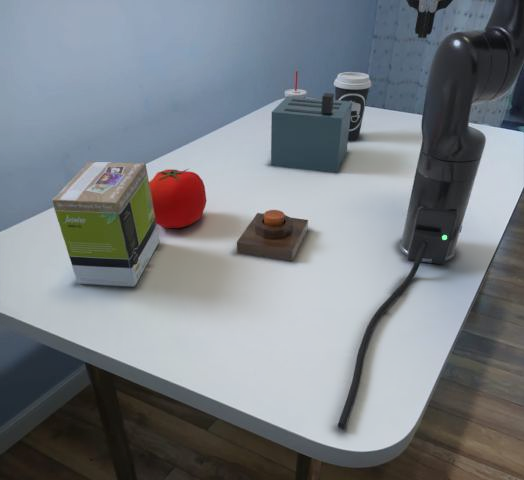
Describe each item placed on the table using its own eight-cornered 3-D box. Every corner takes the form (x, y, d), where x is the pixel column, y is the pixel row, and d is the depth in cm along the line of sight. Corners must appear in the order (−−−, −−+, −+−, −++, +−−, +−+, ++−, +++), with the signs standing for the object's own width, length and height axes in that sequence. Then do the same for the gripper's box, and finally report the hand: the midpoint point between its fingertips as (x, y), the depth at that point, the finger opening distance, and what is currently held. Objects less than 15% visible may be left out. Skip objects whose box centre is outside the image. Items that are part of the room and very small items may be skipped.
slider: (330, 114, 109) (331, 96, 106) (321, 113, 109) (322, 96, 107) (332, 110, 111) (333, 93, 108) (323, 109, 111) (324, 92, 109)
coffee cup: (371, 137, 134) (380, 75, 125) (349, 145, 130) (356, 82, 120) (344, 129, 140) (350, 69, 130) (321, 136, 135) (326, 75, 125)
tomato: (221, 221, 96) (218, 168, 90) (167, 243, 90) (159, 188, 83) (187, 203, 103) (182, 152, 96) (134, 222, 96) (124, 169, 89)
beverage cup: (305, 129, 139) (309, 74, 130) (284, 129, 139) (285, 74, 130) (304, 122, 144) (307, 68, 135) (283, 122, 144) (284, 68, 135)
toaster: (336, 172, 115) (342, 117, 107) (270, 165, 119) (271, 111, 111) (346, 152, 126) (352, 101, 118) (285, 146, 129) (287, 95, 121)
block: (291, 261, 85) (292, 240, 82) (237, 253, 87) (236, 232, 85) (307, 230, 94) (308, 210, 91) (257, 223, 96) (257, 203, 93)
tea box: (107, 239, 91) (89, 158, 81) (160, 243, 90) (148, 161, 80) (75, 285, 79) (49, 197, 70) (135, 289, 79) (118, 200, 69)
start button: (281, 229, 86) (281, 219, 85) (261, 226, 87) (261, 217, 86) (286, 220, 89) (286, 211, 88) (267, 217, 90) (267, 208, 89)
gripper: (400, -96, 74) (381, 39, 86) (493, -96, 71) (461, 43, 83) (404, -95, 80) (386, 32, 91) (491, -95, 77) (461, 36, 88)
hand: (422, 37), depth 87 cm, fingers closed
